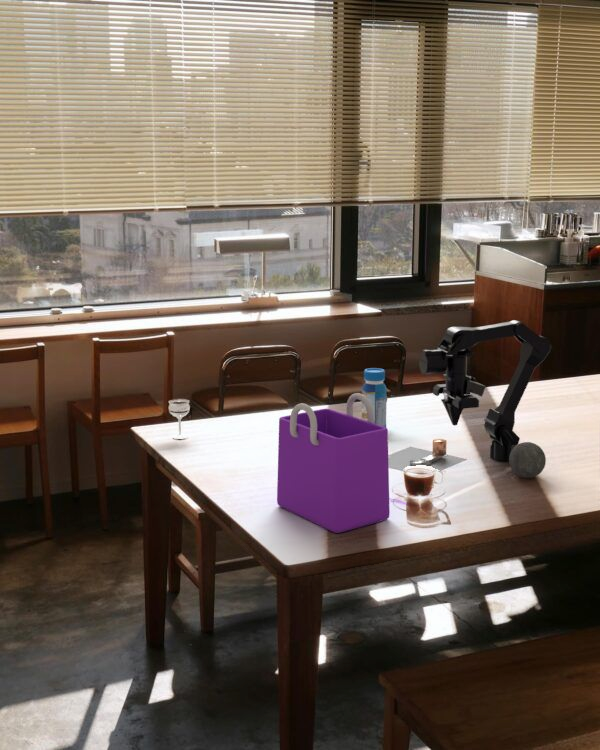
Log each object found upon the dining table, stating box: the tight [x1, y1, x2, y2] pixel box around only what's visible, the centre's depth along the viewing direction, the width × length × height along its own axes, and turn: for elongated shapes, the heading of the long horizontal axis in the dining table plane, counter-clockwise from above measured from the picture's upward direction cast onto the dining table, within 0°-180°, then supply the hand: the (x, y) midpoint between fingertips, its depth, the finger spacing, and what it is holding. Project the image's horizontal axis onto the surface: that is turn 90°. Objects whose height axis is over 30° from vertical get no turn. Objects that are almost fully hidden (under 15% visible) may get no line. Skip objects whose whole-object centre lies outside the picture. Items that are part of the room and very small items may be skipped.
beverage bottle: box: [361, 367, 388, 428], centre depth 333 cm, size 8×8×20 cm
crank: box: [410, 438, 448, 466], centre depth 297 cm, size 15×6×5 cm, turn 139°
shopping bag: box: [276, 392, 390, 534], centre depth 257 cm, size 28×22×30 cm
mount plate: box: [388, 446, 467, 472], centre depth 299 cm, size 20×21×1 cm
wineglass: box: [168, 398, 191, 436], centre depth 326 cm, size 7×7×12 cm
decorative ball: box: [508, 441, 547, 479], centre depth 286 cm, size 10×10×10 cm
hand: (454, 425), depth 293 cm, fingers closed
